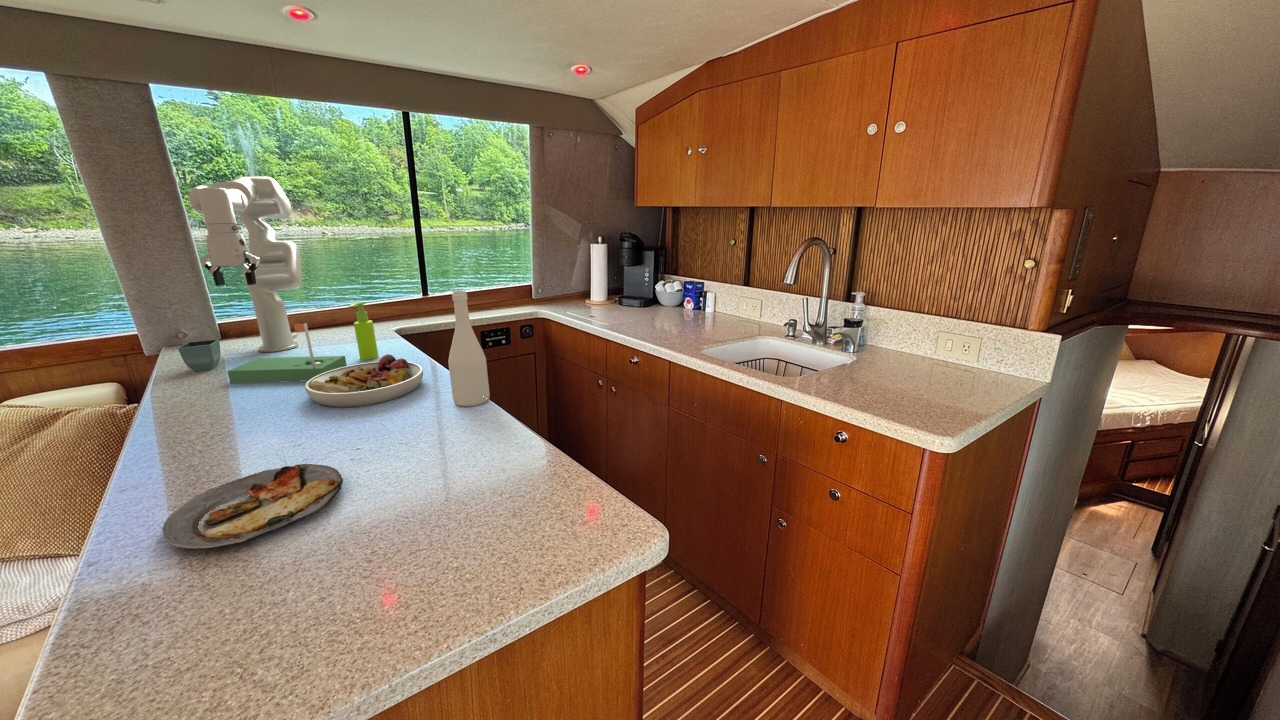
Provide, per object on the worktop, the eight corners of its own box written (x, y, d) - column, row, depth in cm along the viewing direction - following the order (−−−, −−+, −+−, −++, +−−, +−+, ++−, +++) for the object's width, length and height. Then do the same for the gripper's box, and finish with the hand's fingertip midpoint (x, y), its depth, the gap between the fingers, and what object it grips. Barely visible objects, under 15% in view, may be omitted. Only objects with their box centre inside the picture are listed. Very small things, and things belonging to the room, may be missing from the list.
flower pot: (194, 367, 170) (186, 341, 167) (225, 363, 174) (219, 338, 171) (184, 374, 162) (176, 347, 160) (217, 370, 166) (210, 344, 163)
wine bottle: (467, 410, 129) (453, 295, 120) (446, 402, 135) (431, 292, 126) (497, 399, 136) (486, 290, 128) (476, 392, 142) (464, 288, 133)
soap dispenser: (353, 360, 176) (343, 304, 170) (369, 354, 182) (359, 300, 177) (367, 361, 174) (357, 304, 169) (382, 355, 181) (373, 301, 175)
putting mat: (261, 369, 166) (248, 316, 161) (347, 367, 168) (337, 314, 162) (230, 383, 153) (215, 326, 148) (324, 380, 154) (312, 323, 149)
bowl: (395, 411, 130) (390, 382, 128) (282, 411, 131) (276, 383, 128) (440, 375, 159) (437, 351, 157) (348, 375, 159) (343, 352, 157)
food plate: (317, 461, 103) (313, 445, 102) (366, 500, 89) (362, 483, 88) (155, 519, 85) (148, 502, 84) (185, 581, 71) (177, 561, 70)
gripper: (259, 229, 158) (272, 282, 163) (203, 229, 157) (217, 283, 162) (243, 229, 151) (256, 286, 156) (183, 230, 150) (198, 287, 155)
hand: (236, 284), depth 159 cm, fingers open, 9 cm apart
